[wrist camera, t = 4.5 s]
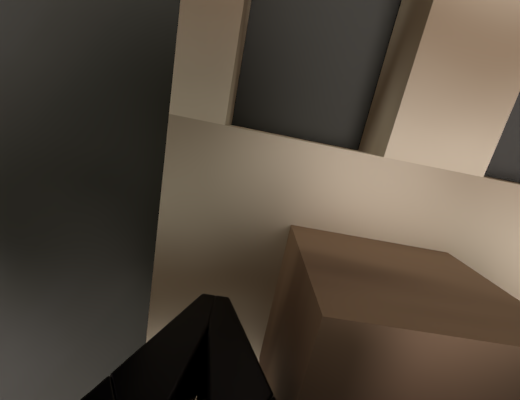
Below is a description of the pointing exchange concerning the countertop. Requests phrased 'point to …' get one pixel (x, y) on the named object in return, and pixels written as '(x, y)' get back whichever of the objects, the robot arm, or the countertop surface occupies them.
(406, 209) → the trap board
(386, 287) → the walnut block
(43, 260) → the countertop surface
